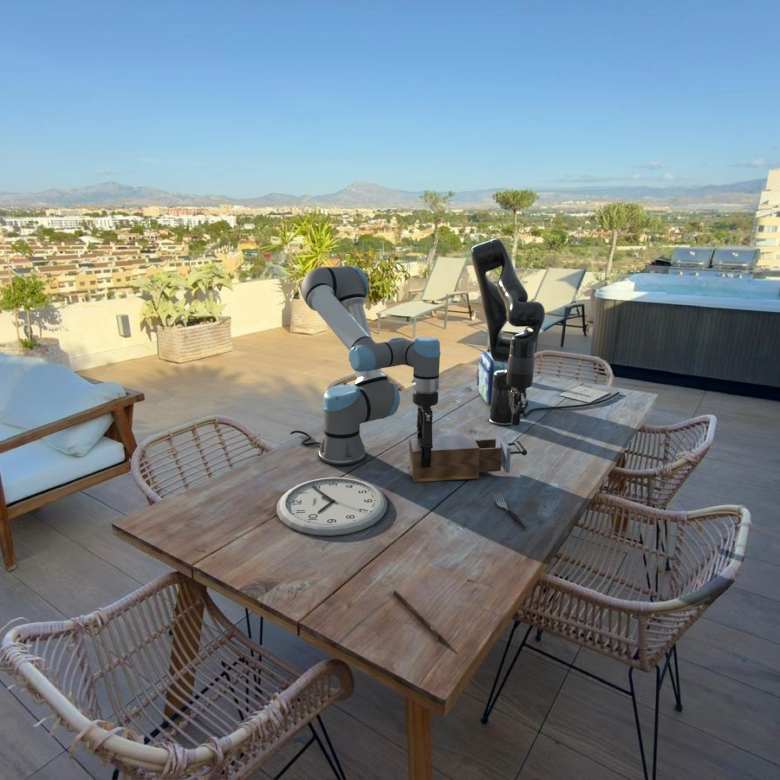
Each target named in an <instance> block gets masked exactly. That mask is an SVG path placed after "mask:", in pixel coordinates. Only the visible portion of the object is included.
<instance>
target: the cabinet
mask: <svg viewBox="0 0 780 780" xmlns="http://www.w3.org/2000/svg"><path fill="white" fill-rule="evenodd" d="M408 439H409V440H408V441H409V469H410V473H411V478H412V482H413V483H420V482H421V483H422V482H439V481H455V480H471V479H480V472H479V446H478V445H477V443H476V441H475V440H476V439H475V437H474V436H473V434H464V435H463V434H462V435H445V436H444V435H443V436H432V445H433V448H431V468H421V457H422V448H420V446H422V445H423V442H422V438H417V437H410V438H408Z"/></svg>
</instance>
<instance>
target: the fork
mask: <svg viewBox="0 0 780 780" xmlns="http://www.w3.org/2000/svg"><path fill="white" fill-rule="evenodd" d="M497 494H498V495H497ZM493 497H494V499H495V503H496V505H497V506H498V507H499V508H502V509H505V510H507V512H508V514H509V515H510V517H511V518H513V519H514V521H516V522H517V523H518V524H519V525H521V526H522V527H523V528H524V529H526V525H524V523H523V522H522V521H521V520H520V518H519V517H518V516H517V515H516V514H515V513H514V512H513V511H511V509H509V508H508V504H507V502H506V501H505V499H504V497H503V495H502V493H499V492H498V493H495V494H493Z"/></svg>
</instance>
